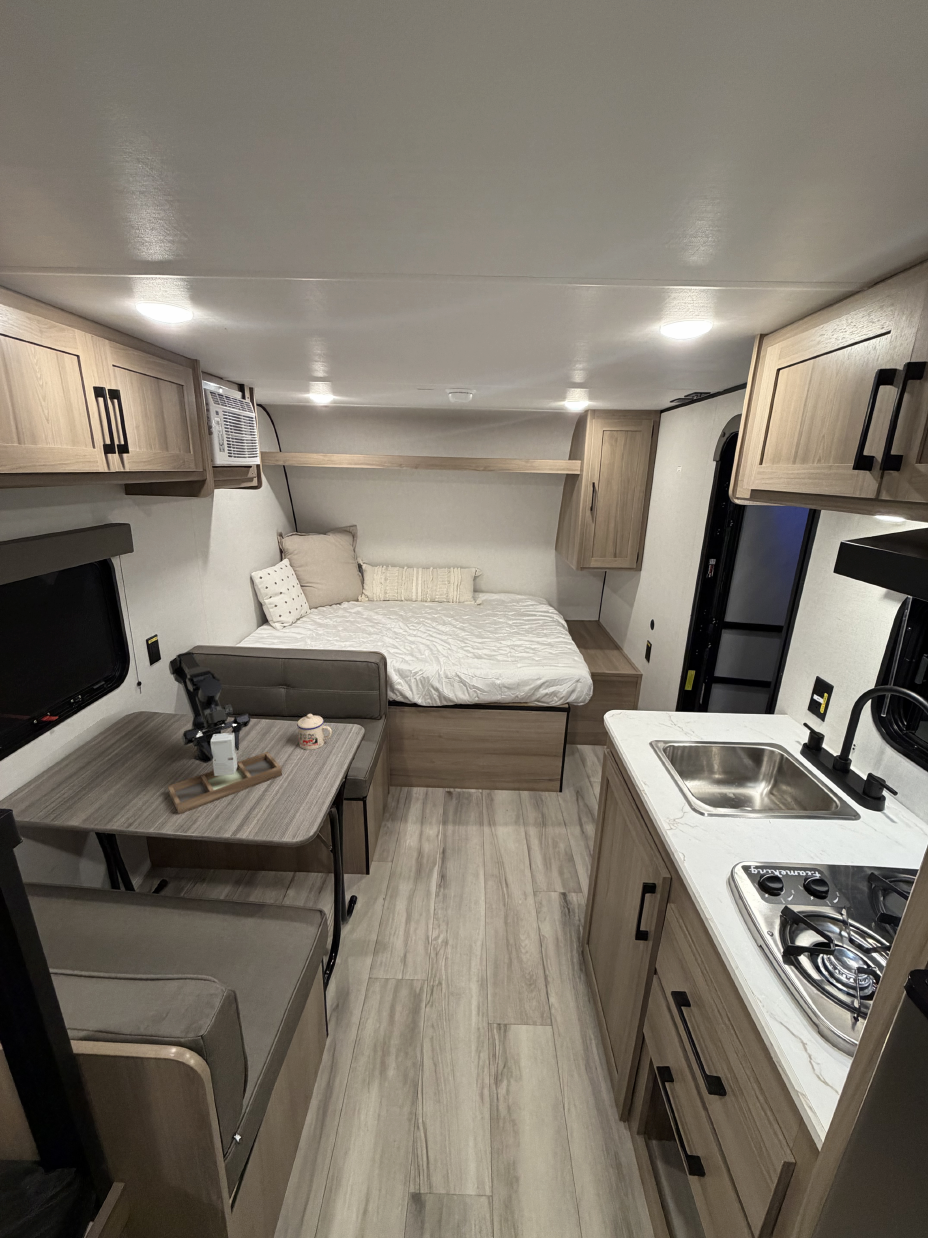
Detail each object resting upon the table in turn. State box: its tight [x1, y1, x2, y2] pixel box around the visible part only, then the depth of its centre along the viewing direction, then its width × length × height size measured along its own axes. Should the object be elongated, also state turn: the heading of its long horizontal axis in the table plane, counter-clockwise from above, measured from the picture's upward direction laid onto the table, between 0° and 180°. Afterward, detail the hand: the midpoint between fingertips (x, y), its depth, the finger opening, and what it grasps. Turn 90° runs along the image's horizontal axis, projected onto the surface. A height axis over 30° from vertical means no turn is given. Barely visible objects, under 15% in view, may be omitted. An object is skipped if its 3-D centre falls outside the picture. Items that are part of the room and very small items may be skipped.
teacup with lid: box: [296, 713, 333, 751], centre depth 179 cm, size 12×9×12 cm
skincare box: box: [210, 732, 238, 776], centre depth 153 cm, size 6×4×12 cm
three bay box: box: [167, 751, 283, 815], centre depth 157 cm, size 12×30×3 cm, turn 131°
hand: (225, 754), depth 152 cm, fingers closed on skincare box, 7 cm apart
